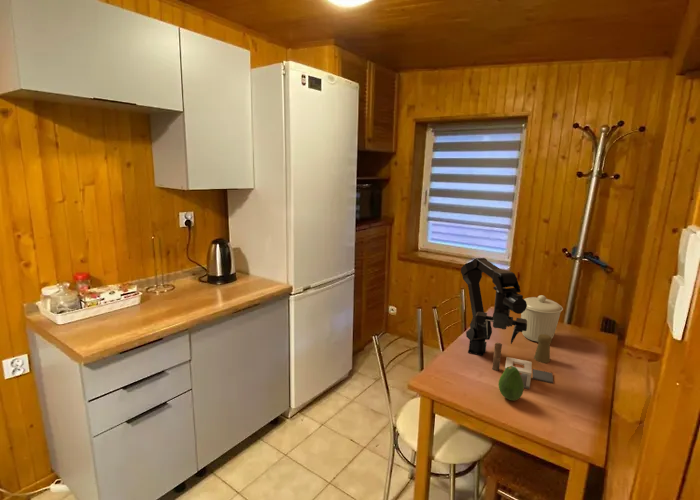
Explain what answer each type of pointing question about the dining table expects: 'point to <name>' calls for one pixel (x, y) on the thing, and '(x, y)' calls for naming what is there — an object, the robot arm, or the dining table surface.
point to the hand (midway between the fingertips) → (498, 340)
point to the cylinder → (497, 356)
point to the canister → (540, 317)
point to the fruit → (511, 384)
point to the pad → (542, 376)
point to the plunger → (518, 366)
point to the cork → (543, 349)
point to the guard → (521, 369)
